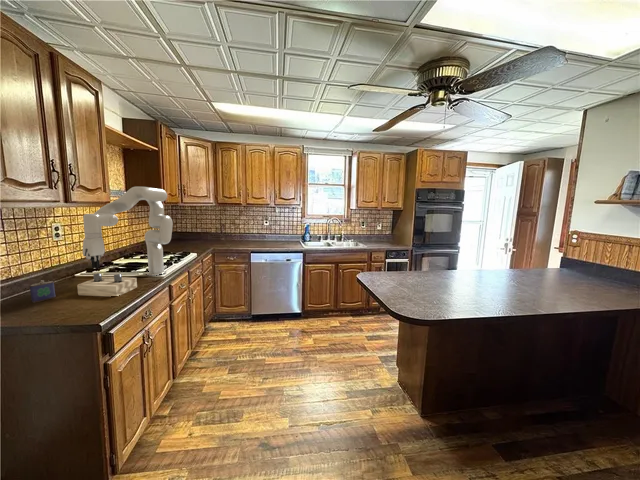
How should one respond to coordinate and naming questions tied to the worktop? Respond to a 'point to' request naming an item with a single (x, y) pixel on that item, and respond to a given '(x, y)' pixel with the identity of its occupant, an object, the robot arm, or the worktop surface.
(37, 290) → the flask
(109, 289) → the maple block
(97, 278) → the peg
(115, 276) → the peg
